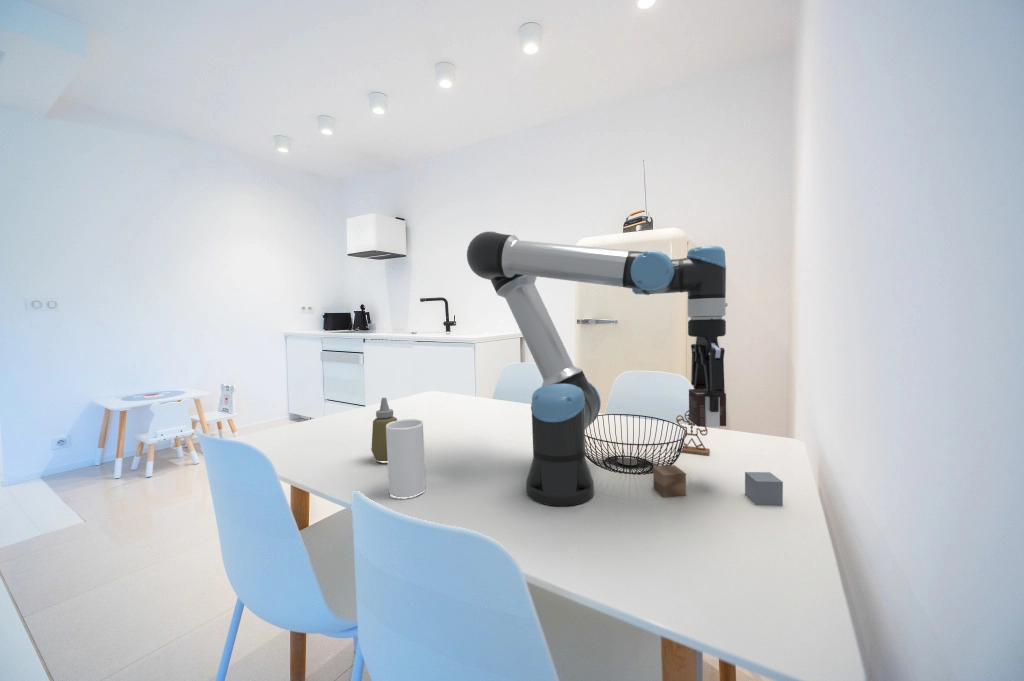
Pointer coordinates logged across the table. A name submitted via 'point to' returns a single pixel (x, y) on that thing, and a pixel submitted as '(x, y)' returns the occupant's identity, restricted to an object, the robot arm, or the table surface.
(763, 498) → the grey block
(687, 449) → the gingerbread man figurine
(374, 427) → the squeeze bottle
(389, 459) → the cup
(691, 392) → the box
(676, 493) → the walnut block
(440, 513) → the table surface
